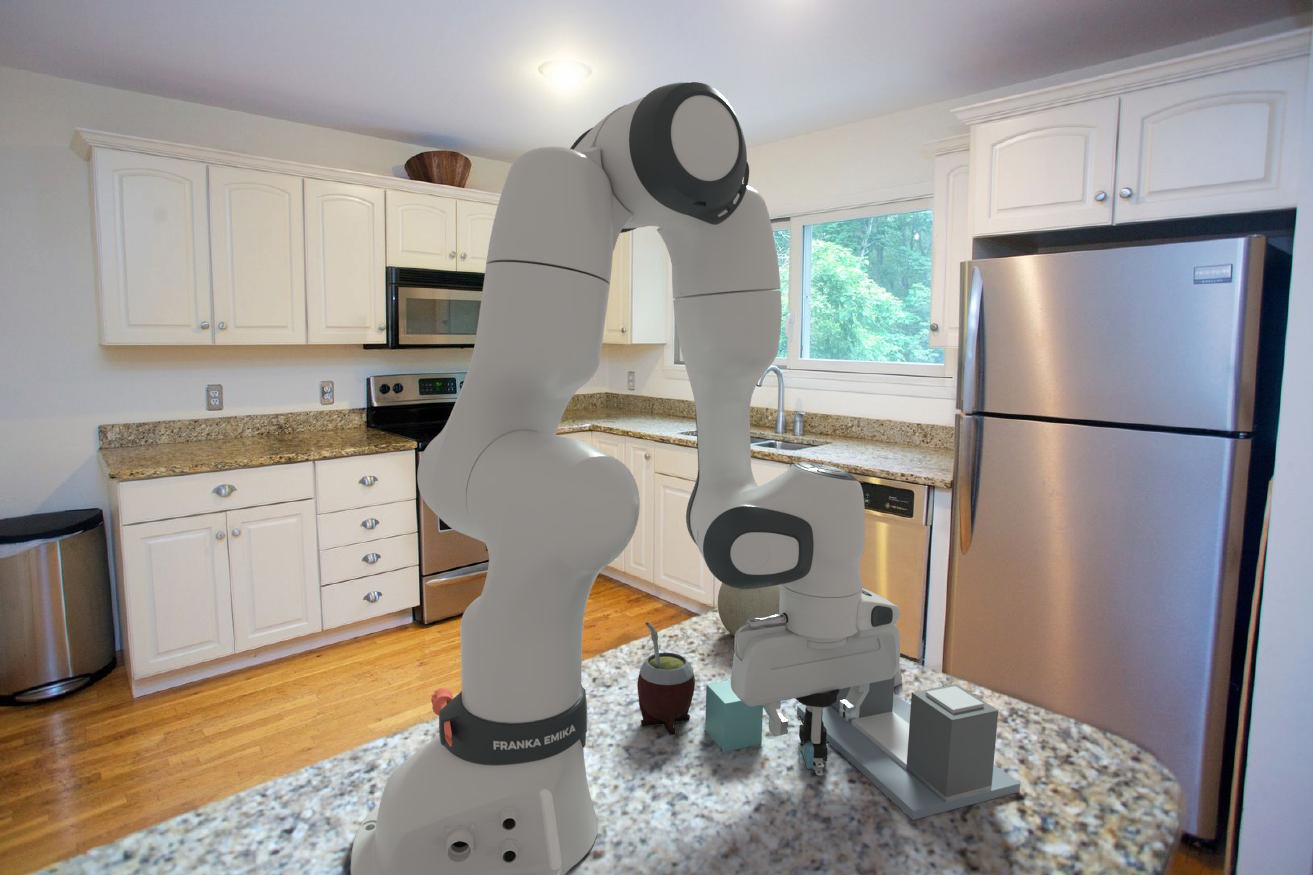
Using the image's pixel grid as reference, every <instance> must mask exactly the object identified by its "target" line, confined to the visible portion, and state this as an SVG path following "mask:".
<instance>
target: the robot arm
mask: <svg viewBox="0 0 1313 875" xmlns="http://www.w3.org/2000/svg"><path fill="white" fill-rule="evenodd" d="M738 118H739V117H738V116H737V114H736V112H735V110H734V109H733V107H732V105H731V103H730V102H729V101H728V100H727V99H726V97H725V96H724V95H723V94H722V93H721V92H720V91H719V90H717V89H716V88H714V87H712V86H711V85H709V84H706V83H703V82H698V81H679V82H674V83H669V84H665V85H662V86H659V87H657V88H655V89H653V90H651V91H649V93H647V94H646V95H645V96H643V97H641V98H638V99H636V100H634V101H632V102H630V103H628V104H624V105H622V106H619V107H618V108H616V109H614V110H613V111H612V112H610V113H608V114H607V115H606V116H605V117H603V118H602V119H601V120H600V121H598V123H597V124H595V126H593V127H591V128H589V129H588V130H586V131H584V132H583V133H582V134H581V135H580V136H579V137H578V138H577V139H576V140H575V141H574V142H573V144H572V145H571V146H570V148H567V147H564V146H563V147H562V146H542V147H537V148H534V149H531V150H528V151H526V152H524V153H523V154H521V155H520V156H518V157H517V159H515V160H514V162H513V164H511V167H510V169H509V171H508V172H507V176H506V179H505V182H504V184H503V188H502V191H501V193H500V197H499V201H498V204H497V207H496V212H495V216H494V219H493V223H492V224H493V225H492V227H491V228H492V229H491V234H490V238H489V243H488V248H487V256H486V263H485V269H484V270H485V271H484V272H485V273H484V279H483V284H482V285H483V286H482V293H481V299H480V307H479V314H478V321H477V322H478V323H477V328H476V336H475V342H474V347H473V351H472V354H471V359H470V362H469V365H468V368H467V372H466V375H465V377H464V380H463V383H462V386H461V389H460V391H459V393H458V396H457V398H456V400H455V403H454V406H453V408H452V410H451V413H450V416H449V417H448V420H447V421H446V423H445V425H444V427H443V429H442V430H441V431H440V432H439V433H438V434H437V435H436V436H435V437H434V438H433V439H432V440H431V441H430V442H429V444H428V445H427V446H426V448H425V449H424V450H423V452H422V455H421V457H420V460H419V463H418V467H417V474H416V475H417V476H416V477H417V478H416V479H417V486H418V490H419V493H420V496H421V498H422V500H423V501H424V503H425V504H426V505H427V507H428V508H429V509H430V510H431V511H432V512H433V513H434V514H435V515H436V516H437V517H438V518H439V519H440V520H441V521H442V522H443V523H444V524H445V525H447V526H448V527H449V528H451V529H452V530H454V531H455V532H458V533H460V534H462V535H464V536H465V535H466V536H468V537H470V538H473V539H475V540H477V541H480V542H483V543H484V544H485V546H486V549H487V553H488V565H487V566H488V567H487V572H486V577H485V581H484V585H483V588H482V591H481V594H480V596H478V597H477V598H475V599H474V600H473V601H472V602H471V603H470V604H469V605H468V606H467V607H466V609H465V610H464V612H463V614H462V616H461V619H460V626H459V630H460V673H461V674H460V676H461V690H460V691H459V692H458V694H457V695H456V696H454V695H453V691H451V690H450V689H449V688H448V687H440V688H437V689H436V690H434V693H432V695H431V699H430V700H431V705H432V712H433V713H434V714H436V715H437V716H438V733H439V734H438V735H436V736H435V737H434V738H433V739H431V740H430V741H429V742H428V743H426V744H425V745H424V746H423V747H421V748H420V749H419V750H417V752H415V753H414V754H412V755H411V756H410V757H408V759H406V760H405V761H403V762H402V763H400V764H399V765H398V766H397V767H396V768H394V770H393V771H392V772H391V773H390V776H389V777H388V779H387V782H386V784H385V786H384V789H383V792H382V795H381V798H380V802H379V806H378V807H376V808H374V809H373V810H372V811H370V812H369V814H368V815H367V816H366V817H365V818H364V820H363V821H362V822H361V824H360V826H359V827H358V829H357V832H356V833H355V837H354V839H353V844H352V850H351V857H350V858H351V859H350V868H349V870H350V871H349V872H350V874H349V875H566V874H567V873H568V872H569V870H571V869H572V868H573V867H574V866H575V865H577V864H578V863H579V862H580V861H581V860H582V859H583V858H584V857H585V856H586V855H587V854H588V853H589V851H590V850H591V849H592V847H593V845H594V843H595V841H596V838H597V834H598V832H599V831H598V830H599V820H598V817H597V813H596V811H595V807H594V804H593V801H592V797H591V793H590V789H589V782H588V777H587V770H586V763H585V762H586V761H585V752H584V751H585V750H584V748H585V746H586V744H587V742H586V741H587V733H588V700H587V693H586V689H585V687H583V684H582V677H583V676H582V670H583V669H582V668H583V664H582V663H583V633H584V620H585V612H586V608H587V604H588V599H589V596H590V594H591V591H592V588H593V586H594V584H595V582H596V580H597V577H598V575H599V574H600V573H601V571H602V570H603V569H604V568H605V567H607V566H608V565H610V564H611V563H613V562H614V561H615V560H616V559H617V558H618V557H619V556H621V554H622V553H623V552H624V551H625V550H626V548H627V546H629V543H630V542H631V540H632V538H633V536H634V533H635V532H636V528H637V526H638V522H639V517H640V516H639V515H640V510H641V508H640V506H641V503H640V491H639V487H638V485H637V481H636V479H635V477H634V475H633V472H632V471H631V470H630V469H629V468H628V466H626V464H624V463H623V462H622V461H621V460H620V459H617V458H616V457H614V456H612V455H611V454H609V453H607V452H606V451H603V450H602V449H600V448H597V447H596V446H594V445H592V444H590V443H588V442H585V441H584V440H581V439H576V438H570V437H566V436H560V435H557V432H558V430H559V429H558V428H559V425H560V423H561V420H562V417H563V415H564V413H565V411H566V409H567V407H568V404H569V403H570V401H571V400H572V398H573V397H574V396H575V394H576V393H577V392H578V391H579V389H581V388H582V387H583V386H585V385H586V384H587V383H588V382H590V380H592V379H593V377H594V376H595V375H596V372H597V371H598V368H599V366H600V363H601V362H600V361H601V357H602V349H603V348H602V347H603V341H604V333H605V332H604V331H605V323H606V317H607V309H608V301H609V295H610V294H609V293H610V287H611V286H610V285H611V280H612V279H611V277H612V270H613V254H614V251H615V248H616V245H617V242H618V239H619V236H620V235H621V234H623V233H628V232H631V231H633V230H636V229H640V228H645V227H657V229H656V231H657V233H658V234H659V235H660V237H661V239H662V241H663V243H664V244H665V246H666V247H665V248H666V249H667V252H668V254H669V258H670V259H669V260H670V262H671V284H672V285H671V286H672V298H673V300H672V301H673V311H674V312H673V313H674V320H675V321H674V322H675V326H676V327H675V328H676V333H677V338H678V342H679V348H680V352H681V355H682V359H683V363H684V367H685V370H686V373H687V376H688V380H689V383H690V386H691V392H692V395H693V400H694V408H695V409H694V410H695V426H696V428H695V429H696V446H697V466H698V467H697V468H698V469H697V477H696V480H695V483H694V487H693V489H692V491H691V494H690V497H689V500H688V503H687V506H686V513H685V522H686V528H687V530H688V533H689V536H690V538H691V540H692V541H693V543H694V544H695V546H697V548H698V550H699V552H700V554H701V557H702V558H703V560H704V563H705V564H706V566H707V568H708V570H709V571H710V573H711V574H712V575H713V576H714V577H715V578H716V579H717V580H719V581H720V582H721V584H722V583H724V584H726V585H728V586H730V587H734V588H738V589H756V588H763V587H769V586H775V585H780V601H779V614H778V615H771V616H767V617H764V618H752V619H749V620H747V623H746V624H744V625H742V626H741V627H740V628H739V630H737V631H736V634H735V636H734V654H733V660H732V668H731V674H730V680H731V688H732V690H733V692H734V693H735V695H736V696H737V697H738V698H739V699H740V700H741V701H742V702H744V703H745V704H746V705H747V706H749V707H753V706H758V705H762V706H763V710H764V711H765V713H766V715H767V716H768V729H769V730H768V731H769V732H770V733H771V734H772V735H773V736H774V737H779V736H784V735H788V733H789V729H788V727H789V720H788V719H787V718H786V717H784V714H782V713H781V712H778V711H777V710H780V709H781V705H782V701H789V700H792V699H796V698H798V697H803V696H808V695H811V694H816V693H823V692H828V691H832V690H836V689H843V688H848V687H851V688H850V690H849V693H848V695H847V697H846V699H845V700H841V701H840V707H841V708H840V715H841V716H842V717H843V718H845V720H847V721H848V720H853V719H857V718H859V709H860V705H861V704H862V702H863V700H864V699H865V697H866V695H867V694H868V692H869V685H870V683H873V682H878V681H883V680H889V679H892V678H893V677H894V675H895V674H896V672H897V671H898V668H900V661H901V660H900V659H901V634H900V630H899V627H898V626H897V625H896V624H897V623H898V622H899V620H900V614H901V613H900V612H901V611H900V610H901V609H900V607H899V606H898V605H896V604H894V602H891V601H890V600H888V599H886V598H885V597H883V596H881V595H879V594H877V593H876V592H875V593H874V592H873V591H871V590H868V589H865V588H863V581H862V576H861V572H860V569H861V568H860V564H861V560H862V557H863V553H864V551H865V539H866V538H865V536H866V534H865V533H866V532H865V531H866V514H865V513H866V511H865V510H866V508H865V498H864V491H863V488H862V485H861V483H860V481H859V480H858V479H857V478H856V477H855V476H854V475H852V474H851V473H849V472H847V471H845V470H843V469H842V468H839V467H835V466H832V465H828V464H825V463H824V464H823V463H818V462H812V461H800V462H795V463H794V464H792V465H791V466H790V467H789V468H788V469H787V470H786V471H784V472H783V473H781V474H780V475H778V476H777V477H775V478H773V479H771V480H769V481H767V482H766V483H764V484H762V485H759V486H758V485H757V482H756V480H755V478H754V474H753V470H752V454H751V452H752V451H751V450H752V449H751V448H752V447H751V416H750V415H751V403H752V398H753V394H754V392H755V391H754V390H755V388H756V386H757V385H758V383H759V381H760V380H761V378H762V377H763V376H764V374H765V373H766V371H767V370H768V369H769V368H770V367H771V365H772V364H773V363H774V361H775V359H776V357H777V355H778V352H779V344H780V339H781V338H780V337H781V329H782V316H783V315H782V314H783V313H782V312H783V311H782V310H783V308H782V291H781V278H780V277H781V275H780V266H779V258H778V252H777V246H776V241H775V234H774V231H773V230H774V229H773V227H772V221H771V218H770V214H769V211H768V206H767V204H766V201H765V199H764V197H763V196H762V195H761V193H759V191H757V190H756V189H754V188H753V187H751V186H749V185H748V184H749V181H750V180H749V178H750V165H749V163H748V159H747V157H748V156H747V155H748V153H747V146H746V140H745V136H744V133H743V129H742V127H741V123H740V120H739V119H738ZM747 627H748V628H747ZM745 628H747V629H745ZM825 689H827V690H825Z"/></svg>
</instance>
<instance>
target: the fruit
mask: <svg viewBox="0 0 1313 875" xmlns="http://www.w3.org/2000/svg"><path fill="white" fill-rule="evenodd" d="M779 601H780V585H775V586H769V587H763V588H756V589H738V588H734V587H730V586H728V585H726V584H724V583H722V582H721V585H720V588H719V590H718V595H717V611H718V616H719V618H720V621H721V623H722V626H724V629H725V630H726V631H727V632H728V633H729V634H730V635H732V636H734V637H735V634H736V631H737V630H739V628H740V627H741V626H742V625H744V624H746V623H747V620H749V619H752V618H764V617H767V616H771V615H778V614H779ZM747 628H748V627H747ZM747 628H745V629H747Z"/></svg>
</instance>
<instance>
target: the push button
mask: <svg viewBox="0 0 1313 875" xmlns="http://www.w3.org/2000/svg"><path fill="white" fill-rule="evenodd" d="M825 690H827V689H825ZM839 691H840V689H836V690H832V691H828V692H823V693H816V694H811V695H808V696H803V697H798V698H795V699H796V700H797V701H798V703H800V704H801V705H805V706H807V707H806V708H805V716H804V717H803V718H802V724H800V725H799V729H798V737H799V740H800V741H799V742H798V743H797V744H798V745H797V756H798V760H801V753H802V755H803V759H804V761H805V764H806V767H807V770H814V772H815V774H816V775H817V776H824V775H825V774H824V771H823V770H824V767H825V764H824V763H825V762H828V754H829V749H828V745H827V740H826V737H827V729H826V728H825V726H824V723H823V721H822V714H823V709H824V708H826V707H828V706H831V705H832V704H833V703H835V702H836V701H837V694H838V693H839Z"/></svg>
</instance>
